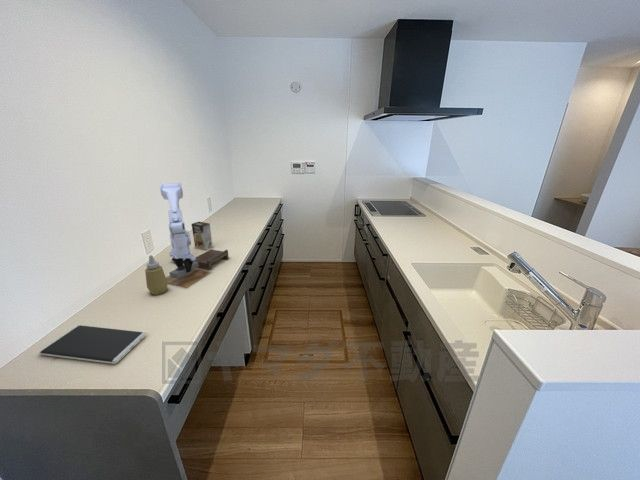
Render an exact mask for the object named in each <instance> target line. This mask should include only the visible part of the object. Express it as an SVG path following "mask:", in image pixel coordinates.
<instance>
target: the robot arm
mask: <svg viewBox="0 0 640 480" xmlns="http://www.w3.org/2000/svg"><path fill="white" fill-rule="evenodd" d="M159 189H160V195H161V196H162V198H163V200H167V201H168V204H169V208H170V209H169V210H168V211H167V212H168V213H167V214H168V222H169V223H168V230H169V241H170V246H171V248H170V252H168V254H169V257H171V263H174V264H175V266H176V268H179V267H181V266H183V265H185V268H186V271H187V273H189V272H190V271H191V267H192V263H193V261H194V260H196V257H197V256H196V255H194V254H192V253H191V248H190V246H191V245H192V239H191V234H190V231H188V230H187V229H186V225H185V221H184V218H183V213H182V210H181V208H180V200H181V199H183V196H184V191H183V186H182V183H181V182H167V183H166V182H165V183H159Z"/></svg>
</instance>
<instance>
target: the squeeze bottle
mask: <svg viewBox="0 0 640 480" xmlns="http://www.w3.org/2000/svg"><path fill="white" fill-rule="evenodd" d="M145 265H146V268H145V270H144V273H145V281H146V288H147V290H148V291H149V293H150V294H152V295H154V296H155V295H161V294H164V293H165V292H166V291H167V288H168V283H167V280H166V277H167V276H166V275H165V271H164V268H163V266H162V265H160V263H159V261H157V260H155V258H154V256H153V254H150V255H148V262H147V263H146V264H145Z"/></svg>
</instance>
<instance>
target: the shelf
mask: <svg viewBox="0 0 640 480" xmlns="http://www.w3.org/2000/svg"><path fill="white" fill-rule="evenodd" d="M229 257H230V256H229V250H228V249H225V250H218V249H213V248H210V249H208V250H206V251H205V252H204V253H201V254H199V255H198V256H196V260H194V261H195V262H198V263H199V267H197V268H196V269H200V270H205V271H211V270H212V265H213V264H214V263H216V262H218V261H219V260H221V259H223V260H229V259H230V258H229Z"/></svg>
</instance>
